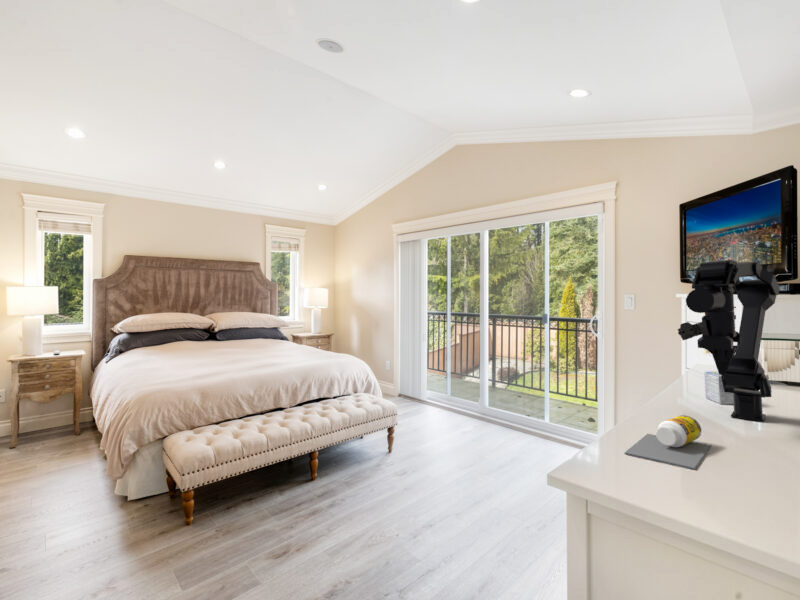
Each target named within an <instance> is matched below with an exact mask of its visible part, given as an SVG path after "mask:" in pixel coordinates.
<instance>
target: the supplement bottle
mask: <svg viewBox="0 0 800 600" xmlns="http://www.w3.org/2000/svg"><path fill="white" fill-rule="evenodd" d="M702 432H703V431H702V427H701V424H700V423H699V422H698V421H697V419H696V418H693V417H692V416H690V415H685V414H681V415H678V416H676V417H675V416H674V417H673V418H670V419H667V420H664V421H662V422H660V423H659V425H658V426H657V429H656V432H655V435H656V436H657V438H658V440H659V441H660V442H661V443H662V444H664V445H667V446H671V447H681V446H683V445H685V444H687V443H690V442H695V441H696V440H698V439H699V438H700V437H701V436H702Z"/></svg>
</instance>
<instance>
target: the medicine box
mask: <svg viewBox="0 0 800 600" xmlns="http://www.w3.org/2000/svg"><path fill="white" fill-rule="evenodd" d="M704 385H705V386H704V388H705V398H706V399H707V400H710V401H713V402H714V403H717V404H719V405H734V400H733V393H729V392H727V393H726V392H724V388H723V383H722V378H721V375H720V374H719V372H718V370H715V371H711V370H710V371H704Z"/></svg>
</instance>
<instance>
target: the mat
mask: <svg viewBox="0 0 800 600" xmlns="http://www.w3.org/2000/svg"><path fill="white" fill-rule="evenodd" d="M711 448H712V445H711V444H706V443H700V442H695V441H692V442H690V443H687V444H685V445H683V446H681V447H671V446H667V445H664V444H662V443H661V442H660V441H659V440H658V438H657V436H656V434H652V433H646V434H645V435H644V436H643V437H642V438H640V439H639V440H638V441H637V442H635V443H634V444H633V445H632V446H631V447H630V448H628V449H627V450H626V451H625V452H624V455H625V454H626V456H629V457H630V456H631V457H634V458H638V459H639V458H640V459H643V460H644V459H645V460H648V461H653V462H658V463H660V464H661V463H662V464H666V465H672V466H676V467H680V468H684V469H688V470H693V471H695V470H696V469H697V467H698V465H700V463H701V462H702V460H703V459H704V458H705V456H706V455H707V454H708V452H709V451H710V449H711Z"/></svg>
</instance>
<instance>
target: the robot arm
mask: <svg viewBox="0 0 800 600" xmlns="http://www.w3.org/2000/svg"><path fill="white" fill-rule="evenodd" d="M746 277H756V278H757V279H743V280H742V281H741V280H740V278H746ZM691 289H692V290H691V291H690V292H689V293H688V294H687V296H686V298H685V303H686V306H687V308H688V309H689V311H692V312H694V313H698V314H704V315H703V316H702V317H701V321H700V322H697V323H694V324H693V323H690V322H689V321H686V322H683V323H681V324H680V326H679V327H680V328H677V333H678V335H679V336H680V338H681V339H682V341H686V340H689V339H692V338H695V337H697V336H701V337H699V338H698V339H697V348H698V349H704V350H706V351H708V352H709V353H710V354H711V355H712V357H713V361H714V363H715V366H716V369H717V371H718V372H719V374H720V375H721V378H722V383H723V388H724V392H726V393H727V392H729V393H733V400H734V404H733V412H731V414H730V418H733V419H742V420H750V421H757V422H765V420H766V417H767V415H766V414H764V413H763V399H762V398H772V392H773V391H772V386H771V384H770V382H769V380H768V378H767V376H766V373H765V369H764V368H763V366H762V364H761V363H760V361H759V358H760V357H759V356H760V348H761V343H762V336H763V329H764V322H765V316H766V311H767V310H769V309H770V308H771V307H773V305H774V304H776V299H777V296H778V295H779V293H780V286H779V283H778V280H777V279H776V276H775V275H774V273H772V272H771V271H769V270H767V269H765V268H764V267H763V266H762V265H761V263H760V262H759V261H756V260H754V261H751V260H750V261H742V262H741V261H740V262H738V261H736V260H733V259H724V260H723V259H722V260H713V261H704V262H701V263H700V264H699V266H698V267H697V269H696V272H695V275H694V278H693V281H692V284H691ZM734 293H736V295H737V299H738V300H739V302H740V303H741V305H742V306H743V307H742V311H741V318H740V324H739V332H738V331H736V323H735V322H736V319H737V317H736V316H737V315H736V314H735V303H734V302H735V300H734ZM734 343H736V345H735V344H734Z"/></svg>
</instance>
